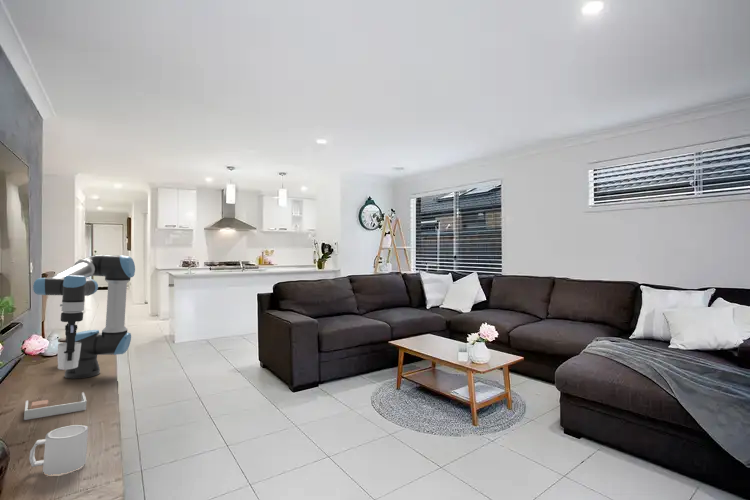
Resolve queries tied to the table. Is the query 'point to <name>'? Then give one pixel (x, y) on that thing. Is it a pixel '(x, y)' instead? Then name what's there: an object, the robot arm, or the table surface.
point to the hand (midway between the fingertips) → (68, 366)
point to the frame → (55, 409)
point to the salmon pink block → (39, 404)
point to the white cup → (61, 354)
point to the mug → (62, 449)
